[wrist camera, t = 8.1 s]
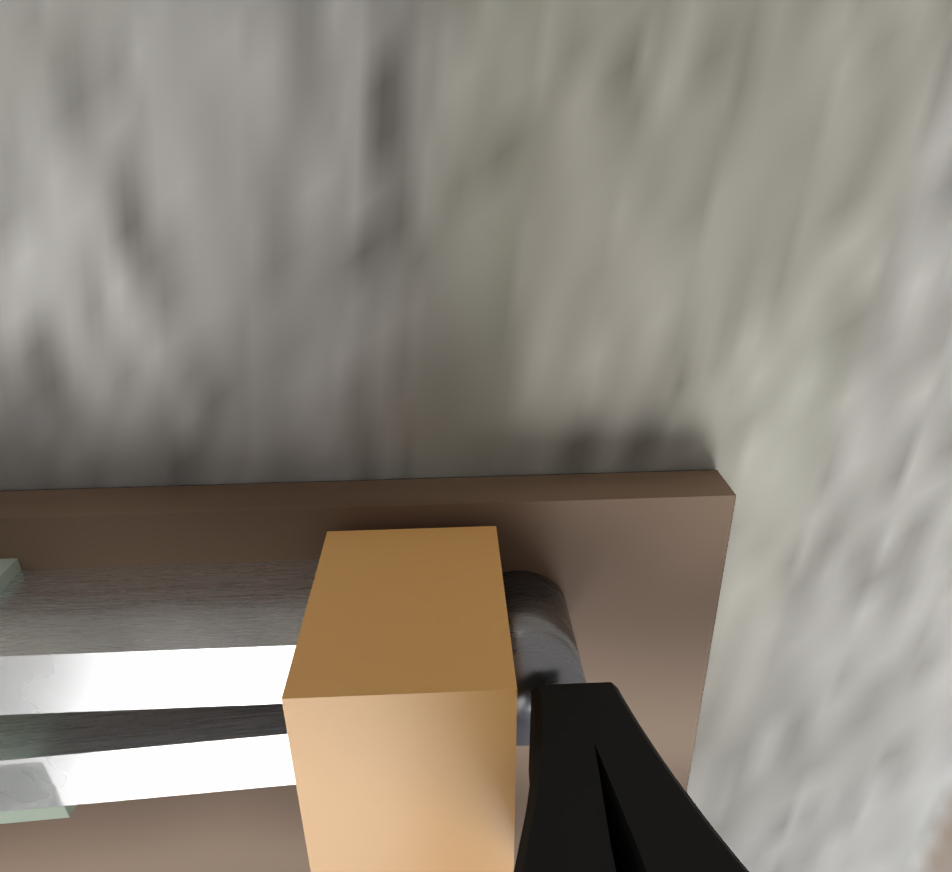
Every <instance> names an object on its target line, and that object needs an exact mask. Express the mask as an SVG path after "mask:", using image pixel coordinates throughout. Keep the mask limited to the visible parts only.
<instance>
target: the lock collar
mask: <svg viewBox="0 0 952 872" xmlns="http://www.w3.org/2000/svg"><path fill="white" fill-rule="evenodd" d="M281 700H282V706H283V711H284V717H285V723H286V729H287V735H288V741H289V747H290V753H291V758H292V764H293V770H294V776H295V782H296V788H297V794H298V799H299V805H300V811H301V817H302V823H303V829H304V835H305V841H306V846H307V852H308V858H309V864H310V870H311V872H514V833H515V781H516V730H517V683H516V676H515V668H514V660H513V652H512V645H511V637H510V629H509V621H508V614H507V606H506V598H505V590H504V583H503V575H502V567H501V559H500V552H499V544H498V536H497V528H496V526H479V527H448V528H417V529H386V530H355V531H327V534H326V537H325V541H324V545H323V548H322V552H321V556H320V559H319V563H318V567H317V570H316V574H315V578H314V581H313V585H312V589H311V592H310V596H309V600H308V603H307V607H306V611H305V614H304V618H303V622H302V625H301V629H300V633H299V636H298V640H297V644H296V647H295V651H294V655H293V658H292V662H291V666H290V669H289V673H288V677H287V680H286V684H285V688H284V691H283V695H282V699H281Z"/></svg>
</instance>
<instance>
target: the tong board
mask: <svg viewBox="0 0 952 872" xmlns="http://www.w3.org/2000/svg"><path fill="white" fill-rule="evenodd" d="M735 499H736V495H735V493H734V492H733V491H732V489H731V488H730V487H729V485H728V484H727V483H726V481H725V480H724V479H723V477H722V476H721V475H720V474H719V472H718V471H717V470H698V471H665V472H631V473H597V474H564V475H530V476H496V477H463V478H429V479H395V480H362V481H328V482H294V483H261V484H227V485H193V486H160V487H126V488H92V489H59V490H25V491H0V715H14V714H39V713H64V712H88V711H113V710H138V709H162V708H187V707H212V706H236V705H261V704H282V700H281V699H282V695H283V691H284V688H285V684H286V680H287V677H288V673H289V669H290V666H291V662H292V658H293V655H294V651H295V647H296V644H297V640H298V636H299V633H300V629H301V625H302V622H303V618H304V614H305V611H306V607H307V603H308V600H309V596H310V592H311V589H312V585H313V581H314V578H315V574H316V570H317V567H318V563H319V559H320V556H321V552H322V548H323V545H324V541H325V537H326V534H327V531H355V530H386V529H417V528H448V527H479V526H496V528H497V536H498V544H499V552H500V559H501V567H502V575H503V583H504V590H505V598H506V606H507V614H508V621H509V629H510V637H511V645H512V652H513V660H514V668H515V676H516V683H517V730H516V781H515V833H514V867H515V863H516V858H517V853H518V848H519V843H520V838H521V833H522V829H523V824H524V819H525V813H526V807H527V801H528V793H529V786H530V784H529V743H530V712H531V690H533V689H534V688H535V687H537V686H538V685H547V684H572V683H598V682H612V683H613V684H614V685H615V686H616V687H617V688H618V689H619V691H620V693H621V695H622V696H623V698H624V700H625V702H626V703H627V705H628V707H629V708H630V710H631V712H632V713H633V715H634V716H635V718H636V720H637V721H638V723H639V724H640V726H641V727H642V729H643V731H644V732H645V734H646V735H647V737H648V738H649V740H650V741H651V743H652V744H653V746H654V747H655V749H656V750H657V752H658V753H659V755H660V756H661V758H662V759H663V761H664V762H665V763H666V765H667V766H668V768H669V769H670V771H671V772H672V773H673V775H674V776H675V777H676V779H677V780H678V782H679V783H680V784H681V786H682V787H683V788H684V790H685V791H687V785H688V779H689V773H690V767H691V761H692V755H693V749H694V743H695V737H696V731H697V725H698V719H699V713H700V708H701V702H702V696H703V690H704V684H705V678H706V672H707V666H708V660H709V654H710V648H711V642H712V636H713V630H714V624H715V618H716V612H717V606H718V600H719V594H720V588H721V582H722V577H723V571H724V565H725V559H726V553H727V547H728V541H729V535H730V529H731V523H732V517H733V511H734V505H735ZM0 872H311V870H310V864H309V858H308V852H307V846H306V841H305V835H304V829H303V823H302V817H301V811H300V805H299V799H298V794H297V788H296V784H293V785H282V786H272V787H261V788H250V789H240V790H229V791H218V792H208V793H197V794H186V795H175V796H165V797H154V798H143V799H133V800H122V801H111V802H101V803H90V804H79V805H76V807H75V808H74V810H73V812H72V814H71V816H70V818H59V819H48V820H38V821H27V822H16V823H6V824H0Z"/></svg>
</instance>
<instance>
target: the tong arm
mask: <svg viewBox="0 0 952 872" xmlns="http://www.w3.org/2000/svg"><path fill="white" fill-rule="evenodd" d="M293 784H296V782H295V776H294V770H293V764H292V758H291V753H290V747H289V741H288V735H287V729H286V723H285V717H284V711H283V706H282V704H261V705H236V706H212V707H187V708H162V709H138V710H113V711H88V712H64V713H39V714H14V715H0V824H6V823H16V822H27V821H38V820H48V819H59V818H70V816H71V814H72V812H73V810H74V808H75V807H76V805H79V804H90V803H101V802H111V801H122V800H133V799H143V798H154V797H165V796H175V795H186V794H197V793H208V792H218V791H229V790H240V789H250V788H261V787H272V786H282V785H293Z"/></svg>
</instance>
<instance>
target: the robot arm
mask: <svg viewBox="0 0 952 872" xmlns="http://www.w3.org/2000/svg"><path fill="white" fill-rule="evenodd" d="M529 784H530V786H529V793H528V801H527V807H526V813H525V819H524V824H523V829H522V833H521V838H520V843H519V848H518V853H517V858H516V863H515V867H514V872H749V871H748V870H747V869H746V868H745V866H744V865H743V864H742V863H741V862H740V860H739V859H738V858H737V857H736V856H735V854H734V853H733V852H732V851H731V849H730V848H729V847H728V846H727V844H726V843H725V842H724V841H723V840H722V838H721V837H720V836H719V835H718V833H717V832H716V831H715V830H714V828H713V827H712V826H711V824H710V823H709V822H708V821H707V819H706V818H705V817H704V815H703V814H702V813H701V811H700V810H699V809H698V807H697V806H696V805H695V803H694V802H693V801H692V799H691V798H690V797H689V795H688V794H687V792H686V791H685V790H684V788H683V787H682V786H681V784H680V783H679V782H678V780H677V779H676V777H675V776H674V775H673V773H672V772H671V771H670V769H669V768H668V766H667V765H666V763H665V762H664V761H663V759H662V758H661V756H660V755H659V753H658V752H657V750H656V749H655V747H654V746H653V744H652V743H651V741H650V740H649V738H648V737H647V735H646V734H645V732H644V731H643V729H642V727H641V726H640V724H639V723H638V721H637V720H636V718H635V716H634V715H633V713H632V712H631V710H630V708H629V707H628V705H627V703H626V702H625V700H624V698H623V696H622V695H621V693H620V691H619V689H618V688H617V687H616V686H615V685H614V684H613V683H612V682H598V683H572V684H547V685H538V686H537V687H535V688H534V689H533V690H531V712H530V743H529Z"/></svg>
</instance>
